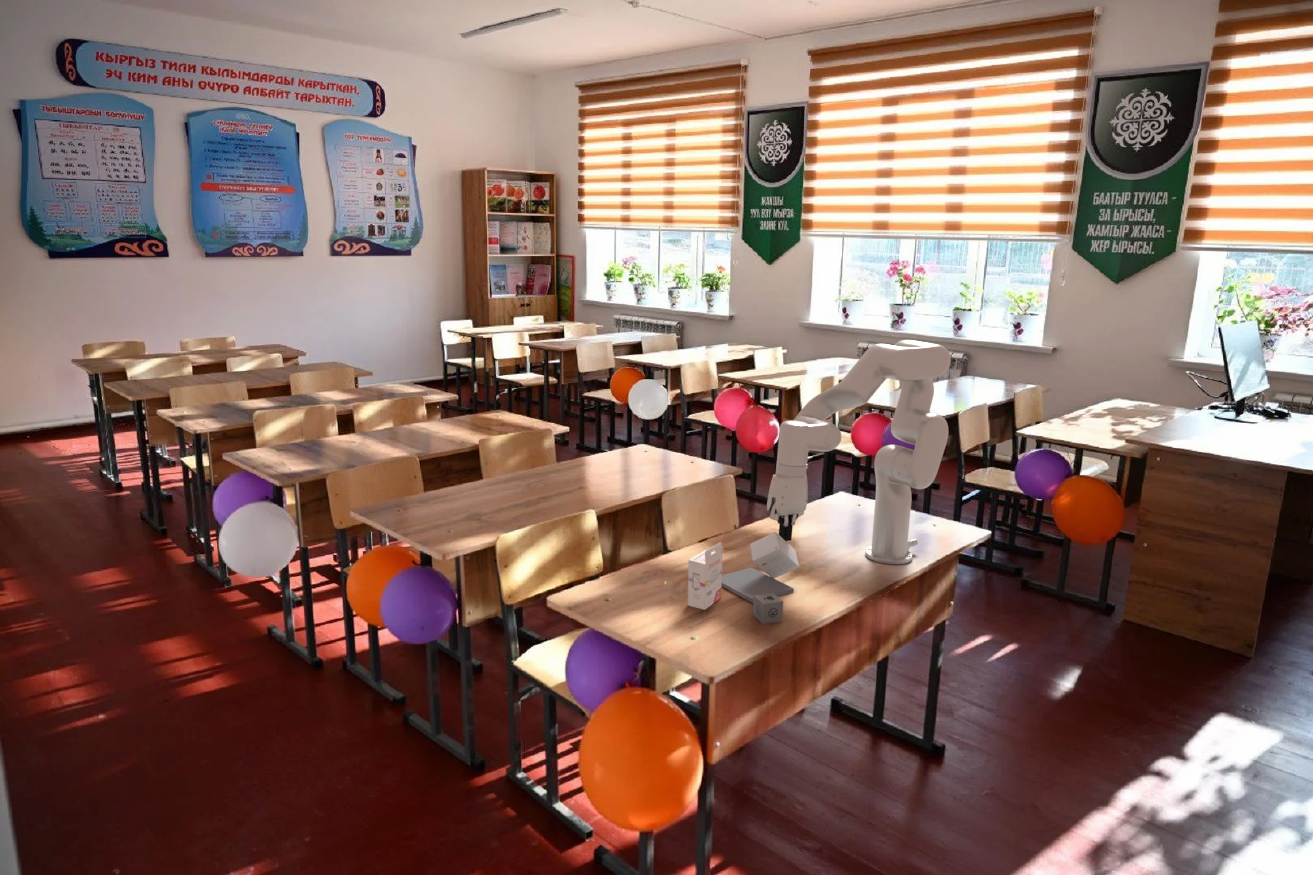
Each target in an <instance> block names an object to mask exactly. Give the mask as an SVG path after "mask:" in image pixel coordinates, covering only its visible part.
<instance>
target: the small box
mask: <svg viewBox="0 0 1313 875" xmlns="http://www.w3.org/2000/svg"><path fill="white" fill-rule="evenodd" d="M749 549H750V553H751V560H752V562H753V563H754V564H755V565H756V566H757V567H759V569H761V570H762V571H763V573H766V575H768V576H770V577H772V578H774V579H777V578H778V577H780V576H783V575H786V574H788V573H789V572H792V571H794V570H797V569H798V568H800V564H799V559H798V556H797V551H796V549H795V548H794V547H793V546H792V545H791V544H789V543H788V541H785V540H784V539H783V538H782V537H781V536H780V535H779V533H778V532H776V531H775V532H773V533H771V534H769V535H766V536H764V537H762V538H760V539H757V540H755V541H754V542H751V543H749Z"/></svg>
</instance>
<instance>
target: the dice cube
mask: <svg viewBox="0 0 1313 875" xmlns="http://www.w3.org/2000/svg"><path fill="white" fill-rule="evenodd" d="M752 606H753V607H752V609H753V610H752V616H753V617H754V618H755V619H756V620H757V621H759V622H760V623H761V625H767V624H775V623H780V622H783V615H784V614H783V613H784V601H783V599H781V598H780V596H778V597H777V596H776V595H775V594H774V593H769V594H762V595H755V596H754V603H752Z"/></svg>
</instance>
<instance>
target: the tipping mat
mask: <svg viewBox="0 0 1313 875" xmlns="http://www.w3.org/2000/svg"><path fill="white" fill-rule="evenodd" d="M722 587H723V589H724V588H725V589H726V590H727V591H730V592H731V593H733V594H735V595H737V596H739V597H741V598H743V599H744V600H746V601H748V602H750V603H751V604H753V603H754V596H755V595H762V594H769V593H774V594H775V595H776V596H777V597H781V596H783V595H784V596H785V595H788V594H791V593H794V588H793V587H792V586H790V585H788V584H786V583H783V582H782V581H780V580H777V578H772V577H770V576H769V575H768V574H767V573H766V574H765V572H762V571H759V570H758V569H756V568H753V567H748V568H746V569H745V568H744V569H741V570H737V571H734V572H733V571H732V572H730V573H726V574H722V583H721V588H722Z"/></svg>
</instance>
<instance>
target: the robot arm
mask: <svg viewBox="0 0 1313 875" xmlns="http://www.w3.org/2000/svg"><path fill="white" fill-rule="evenodd" d="M951 360H952V358H951V353H950V352H949V350H948V349H947V348H946V347H945V346H943V345H941V344H938V343H937V344H936V343H931V342H925V341H918V340H914V339H913V340H912V339H902V340H899V341H897V342H896V343H894V344H893V345H892V344H889V343H888V344H887V343H876V344H873V345H871V346H870V347H869V348H867V350H865V352H864V353H863V354H862V356H861V357H860V358H859V359H858V360H857V362H856V363H855V364H854V365H853V366H852V368H850V370H849V371H848V372H847V373H846V375H845V376H844V377H843V378H842V379H841V380H840V382H838V383H837V384H835V385H833V386H830V387H829V388H827V389H826V390H824V391H822V392H821V393H819V394H817V395H816V396H814V397H812V398H811V399H810V400H809V401H807V403H806V404H805V405H804V406H803V408H802V409H801V410H800V411H799V412H798V414H797V415H796V416H795V418H794V419H793V420H785V421H782V423H780V426H779V431H778V432H779V433H778V436H779V437H778V444H777V457H776V459H777V460H776V468H775V474H773V475H772V478H771V481H770V484H769V490H768V496H767V502H766V511H767V512H770V515H769V519H770V520H773V521H777V524H779V527H778V535H780V536H781V537H782V538H783V539H784V540H785V541H786V542H788V541H789V542H790V541H792V538H793V537H792V535H793V526H794V525H796V521H797V519H798V518H800V517H802V516H803V515H805V511H806V509H807V505H808V490H809V487H808V486H809V485H808V475H807V469H808V468H809V465H808V458H809V452H810V451H815V452H830V451H831V452H832V451H833V450H835V449H837V447H838V446H839V445H840V444H841V442H842V432H841V430H840V428H839V427H838V426H837V425H836V424H834V423H832V422H829V421H826V419H828V417H830V416H832V415H833V414H836V413H838V412H840V411H845V410H848V409H855V408H858V407H861V406H863V405H865V404H867V403H868V401H870V400H871V398H872V396H874V394H875V393H876V392H877V391H878V389H879V388H880V387H881V386H882V385H883V383H884V382H885V381H887V379H890V380H894V381H900V382H901V388H900V389H901V390H900V393H899V397H898V401H897V405H896V408H895V411H894V414H893V417H892V421H891V425H890V426H891V427H890V433H891V435H892V436H893V437H894V438H895V439H897V440H899V441H901V442H904V443H907V444H910V445H914V449H912V448H908V447H905V446H902V445H899V444H898V445H897V444H888V445H884V446H882V447H881V448H879V450H878V451H877V452H876V454H875V457H874V463H873V464H874V474H875V475H874V476H875V500H874V509H873V510H874V514H873V522H872V523H873V524H872V535H871V537H872V538H871V546H868V547H867V548H866V549H865V556H866V558H868V559H869V560H871V561H874V562H877V563H880V564H886V565H905V564H908V563H910V562H911V561H912V560H913V554H912V552H911V551H910V548H911V547H912V548H913V547H916V546H918V544H919V542H918V540H917V539H916V538H912V539H909V531H910V530H909V529H910V523H911V522H910V520H911V509H912V501H913V500H912V490H911V488H912V489H916V490H924V489H926V488H928V487H930V486H931V485H932V484H933V483H934V481H935V479H936V477H937V474H938V471H939V469H940V465H941V462H942V459H943V455H944V453H945V449H946V446H947V442H948V439H949V425H948V422H947V420H946V419H945V418H944V417H943V416H942V415H940V414H938V413H936V412H933V411H931V408H932V403H933V399H934V394H935V386H934V381H933V379H936V378H939V377H941V376H943V375H944V374H945V373H946V372H947V371H948V370H949V368H950V366H951V363H952V362H951Z"/></svg>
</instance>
